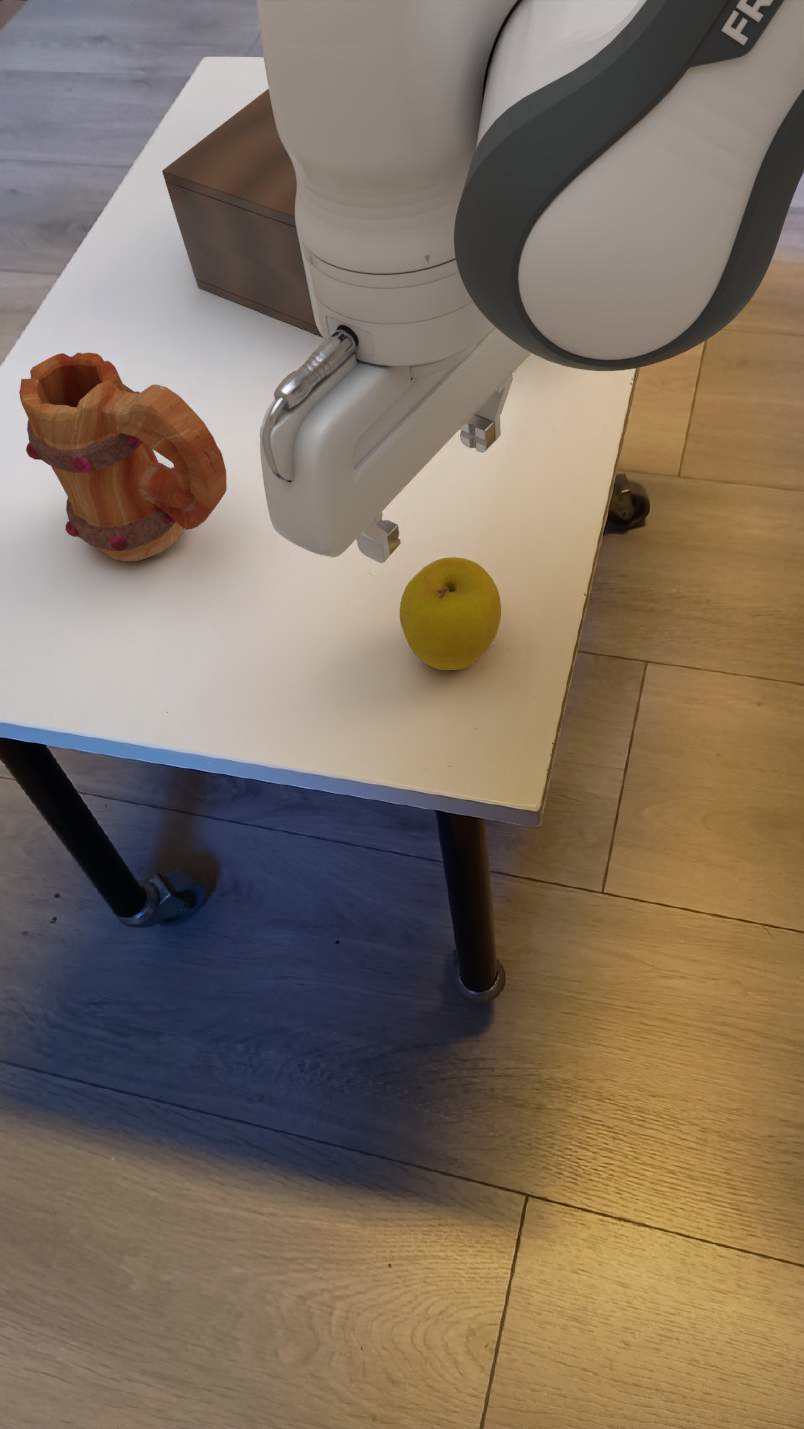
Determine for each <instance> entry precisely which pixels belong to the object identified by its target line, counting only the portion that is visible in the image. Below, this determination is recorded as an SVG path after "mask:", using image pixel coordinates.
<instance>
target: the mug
mask: <svg viewBox="0 0 804 1429" xmlns="http://www.w3.org/2000/svg"><path fill="white" fill-rule="evenodd" d="M29 374H30V378H21V379H20V386H19V392H18V393H19V400H20V403H21V406H22V408H23V410H24V413H25V414H26V416H27V422H26V424H27V426H26V431H27V438H28V443H27V445H26V447H25V452H26V454H27V456H28V457H29V458H31V459H33V460H36V461H37V460H38V461H43V462H44V463H45V464H46V465H48V466H50V467H51V469H52V471H53V472H54V475H55V476H56V478H57V480H58V482H59V483H60V485H61V487H62V489H63V490H64V492H65V494H66V496H67V498H66V506H65V511H66V514H67V518H68V521H67V522H66V524H65V532H66V533H67V534H68V535H69V536H71V537H74V538H79V539H81V540H82V541H83V542H85V543H87V544H88V545H90V546H91V547H95V548H97V549H98V550H100V552H103V553H104V554H105V555H106V556H108V557H109V558H111V559H113V560H114V561H115V560H116V561H122V562H138V561H143V560H145V559H148V558H150V557H152V556H155V555H159V554H160V553H162V552H164V551H166V550H168V549H170V548H171V547H172V546H173V544H175V543H176V542H177V541H178V540H179V539H180V537H181V535H182V533H183V531H184V530H185V531H189V530H193V529H196V528H197V527H199V526H201V525H202V524H203V523H204V522H206V520H207V519H208V518H209V517H210V515H211V514H212V513H213V511H214V510H215V509H216V507H217V506H218V505H219V503H220V502H221V500H222V498H223V497H224V496H225V494H226V493H227V490H228V488H227V485H228V484H227V468H226V465H225V460H224V456H223V454H222V451H221V449H220V448H219V446H218V444H217V442H216V440H215V438H214V436H213V434H212V433H211V431H210V429H209V428H208V426H207V424H206V423H205V422H204V420H202V418H201V417H200V416H199V415H198V413H197V412H195V411H194V410H193V408H192V407H191V406H190V405H189V404H188V403H187V402H186V401H185V400H184V399H183V398H182V397H181V396H180V395H179V394H177V393H176V392H174V391H173V390H171V389H170V388H168V387H167V386H164V385H160V384H151V385H149V386H148V387H147V388H145V389H144V390H142V391H141V392H140V391H137V390H136V391H134V390H133V389H131V388H130V387H129V386H127V385H126V384H124V383H123V381H122V379H121V377H120V374H119V372H118V371H117V368H116V366H115V365H114V364H113V363H112V362H110V360H104V359H103V356H101V355H100V354H98V353H97V352H96V353H95V352H83V353H82V352H76V353H75V354H74V355H73V356H70V355H68V354H66V353H64V352H61V353H57V354H55V355H52V356H50V357H49V358H46V359H45V360H43V361H41V362H39V363H37V364H36V365H34V366H32V367H31V369H30V371H29ZM155 452H156V453H158V454H159V455H160V456H162V457H163V458H165V459H166V460H168V461H169V462H170V463H172V464H173V467H169V466H167V465H165V464H164V463H162V462H159V460H158V458H157V456H156V453H155Z"/></svg>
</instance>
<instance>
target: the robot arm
mask: <svg viewBox="0 0 804 1429" xmlns="http://www.w3.org/2000/svg"><path fill="white" fill-rule="evenodd" d="M255 1H256V12H257V19H258V20H257V21H258V27H259V35H260V42H261V43H260V44H261V49H262V57H263V62H264V68H265V75H266V80H267V86H268V89H269V93H270V98H271V104H272V109H273V114H274V119H275V123H276V128H277V131H278V134H279V137H280V139H281V142H282V144H283V146H284V147H285V149H286V151H287V153H288V155H289V157H290V159H291V161H292V164H293V167H294V170H295V174H296V181H297V191H296V199H295V223H296V228H297V234H298V239H299V243H300V248H301V253H302V258H303V263H304V268H305V273H306V279H307V284H308V289H309V294H310V299H311V304H312V308H313V313H314V318H315V322H316V325H317V328H318V330H319V332H320V333H321V335H322V336H323V337H322V336H321V337H322V338H323V339H324V341H323V342H322V343H321V344H320V345H319V346H318V347H317V348H316V349H315V350H314V351H313V352H312V354H311V355H310V356H309V357H308V358H307V360H306V361H305V362H304V363H303V364H302V365H301V366H299V368H298V369H297V370H294V371H292V372H290V374H288V375H286V376H285V377H284V378H283V379H282V381H280V383H279V384H278V386H276V388H275V390H274V392H273V397H274V399H272V400H273V401H272V402H271V403H270V404H269V406H268V407H267V409H266V411H265V414H264V416H263V419H262V422H261V425H260V428H259V450H260V462H261V472H262V479H263V487H264V494H265V500H266V504H267V505H266V506H267V510H268V514H269V515H268V516H269V518H270V522H271V525H272V527H273V529H274V531H275V532H276V533H277V534H279V535H280V536H281V537H282V538H284V539H286V540H287V541H288V542H290V543H292V544H294V545H295V546H297V547H299V548H301V549H303V550H305V551H308V552H311V553H313V554H315V555H319V556H323V557H328V558H337V557H339V556H341V555H342V554H344V553H345V552H346V551H347V550H348V548H350V546H351V545H352V544H353V543H354V542H355V541H356V544H357V549H358V550H359V552H360V553H361V554H362V555H364V556H365V557H367V558H368V559H369V558H370V559H371V560H373V561H374V562H375V561H376V562H377V563H380V564H384V563H385V562H386V561H387V560H388V559H389V558H390V556H391V555H393V553H394V552H395V551H396V550H397V548H398V547H399V546H400V545H401V543H402V541H401V539H400V538H399V537H400V528H399V524H398V523H395V522H393V521H391V520H389V519H384V520H383V515H384V514H383V511H384V510H385V509H386V508H387V507H388V506H389V505H391V503H392V502H393V501H394V499H395V498H396V497H397V496H399V494H400V493H401V492H402V491H403V490H404V489H405V488H406V487H407V486H408V485H409V484H410V482H411V481H412V480H414V479H415V477H416V476H417V475H418V474H419V473H420V472H421V471H422V470H423V469H424V467H426V466H427V465H428V464H429V463H430V462H431V461H432V460H433V459H434V458H435V456H436V455H437V454H438V453H439V452H440V451H441V450H442V449H443V448H444V447H445V446H446V445H447V444H448V443H449V442H450V440H451V439H452V438H453V437H454V436H455V435H456V434H457V433H458V432H459V431H460V434H459V439H460V442H461V444H463V445H464V446H465V447H466V448H469V449H475V450H476V452H478V453H480V454H483V453H485V452H486V451H488V450H489V449H490V447H492V446H493V444H495V442H496V441H498V439H499V438H500V436H501V431H502V430H501V415H502V413H503V410H504V408H505V407H504V406H505V404H506V400H507V398H508V395H509V393H510V388H511V387H512V383H513V380H514V379H513V374H514V373H515V372H516V371H517V370H518V369H519V368H520V367H521V365H522V364H523V363H524V362H525V361H526V360H527V359H528V358H529V357H530V356H531V355H532V354H533V355H534V356H536V357H538V358H541V359H543V360H546V361H547V362H550V363H553V364H557V365H559V366H563V367H567V368H572V369H575V370H583V371H593V372H618V371H619V372H620V371H626V370H627V371H628V370H635V369H640V368H642V367H648V366H651V365H655V364H658V363H661V362H663V361H666V360H669V359H672V358H675V357H677V356H679V355H682V354H684V353H686V352H688V351H690V350H692V349H694V348H695V347H697V346H699V345H701V344H702V343H704V342H706V341H707V340H709V339H710V338H712V337H713V336H715V335H716V334H717V333H719V332H720V331H722V330H723V329H724V328H726V327H727V326H728V325H729V324H730V323H731V322H732V321H733V320H735V319H736V318H737V317H738V316H739V314H740V313H741V312H742V311H743V310H744V309H745V307H746V306H747V305H748V304H749V303H750V301H751V299H752V298H753V297H754V295H755V294H756V292H757V290H758V289H759V288H760V286H761V285H762V281H763V280H764V278H765V276H766V274H767V272H768V270H769V266H770V265H771V263H772V260H773V257H774V255H775V252H776V249H777V246H778V243H779V240H780V238H781V235H782V232H783V229H784V228H783V227H784V225H785V221H786V219H787V215H788V213H789V210H790V207H791V204H792V201H793V199H794V196H795V193H796V191H797V188H798V186H799V183H800V181H801V179H802V177H803V175H804V0H255Z"/></svg>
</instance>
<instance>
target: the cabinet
mask: <svg viewBox="0 0 804 1429" xmlns="http://www.w3.org/2000/svg"><path fill="white" fill-rule="evenodd" d="M161 174H162V175H163V179H164V183H165V187H166V189H167V192H168V196H169V200H170V202H171V206H172V208H173V212H174V215H175V219H176V222H177V224H178V228H179V232H180V234H181V238H182V241H183V244H184V247H185V251H186V254H187V257H188V260H189V264H190V267H191V271H192V273H193V277H194V279H195V283H196V286H197V288H199V289H202V290H204V291H206V292H208V293H212V294H214V295H217V296H219V297H221V298H224V299H227V300H229V301H231V302H234V303H236V304H239V305H241V306H244V307H247V308H249V309H251V310H254V311H257V312H259V313H262V314H265V315H267V316H269V317H271V318H274V319H276V320H279V321H281V322H284V323H286V324H289V325H292V326H294V327H296V328H300V329H302V330H304V331H306V332H309V333H311V334H314V335H317V336H319V337H321V338H323V336H322V335H321V333H320V332H319V330H318V328H317V325H316V322H315V318H314V313H313V308H312V304H311V299H310V294H309V289H308V284H307V279H306V273H305V268H304V263H303V258H302V253H301V248H300V243H299V239H298V234H297V228H296V223H295V199H296V191H297V181H296V174H295V170H294V167H293V164H292V161H291V159H290V157H289V155H288V153H287V151H286V149H285V147H284V146H283V144H282V142H281V139H280V137H279V134H278V131H277V128H276V123H275V119H274V114H273V109H272V104H271V98H270V93H269V88H267V89H266V90H265V91H263V92H262V93H260V94H259V95H258V96H257V97H255V98H254V99H253V100H251V101H250V102H248V104H246V105H245V106H244V107H243V108H241V109H240V110H238V111H237V112H236V113H235V114H233V115H232V116H231V117H229V118H227V120H226V121H224V122H223V123H222V124H220V125H219V126H218V127H217V128H215V129H214V130H213V131H212V132H210V133H209V134H208V135H206V136H205V137H203V138H202V139H201V140H200V141H198V142H197V143H196V144H195V145H194V146H192V147H190V149H189V148H188V150H187V151H185V152H184V153H183V154H182V155H180V156H179V157H178V158H176V159H175V160H174V161H172V162H171V163H170V164H169V165H167V166H166V167H165V168H163V169H162V170H161Z"/></svg>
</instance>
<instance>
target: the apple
mask: <svg viewBox="0 0 804 1429" xmlns="http://www.w3.org/2000/svg"><path fill="white" fill-rule="evenodd" d="M501 604H502V603H501V597H500V592H499V590H498V587H497V585H496V583H495V582H494V580H493V578H492V576H491V575H490V574H489V573H488V572H487V571H486V570H485V568H483V567H482V566H481V565H480V564H479V563H478V562H475V561H473V560H471V559H467V558H465V557H455V556H453V557H452V556H451V557H444V558H440V559H436V560H434V561H432V562H430V563H429V564H427V565H425V566H424V567H422V569H420V570H419V571H418V572H417V573H416V574H415V575H414V576H413V577H412V578H411V579H410V581H408V583H407V584H406V586H405V588H404V590H403V593H402V595H401V599H400V604H399V622H400V627H401V629H402V631H403V634H404V637H405V640H406V642H407V644H408V646H409V647H410V649H411V651H412V652H413V653H414V655H416V656H417V657H418V658H419V659H420V660H421V661H422V662H423V663H424V664H426V665H427V666H429V667H430V668H433V669H436V670H439V671H453V670H455V671H457V670H458V671H461V670H465V669H467V668H469V667H470V666H472V665H473V664H474V663H475V662H476V661H477V660H478V659H479V658H480V657H482V656H483V654H484V653H485V652H486V651H487V650H488V649H489V647H490V646H491V645H492V643H493V642H494V640H495V637H496V636H497V633H498V630H499V626H500V623H501V617H502V605H501Z"/></svg>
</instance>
